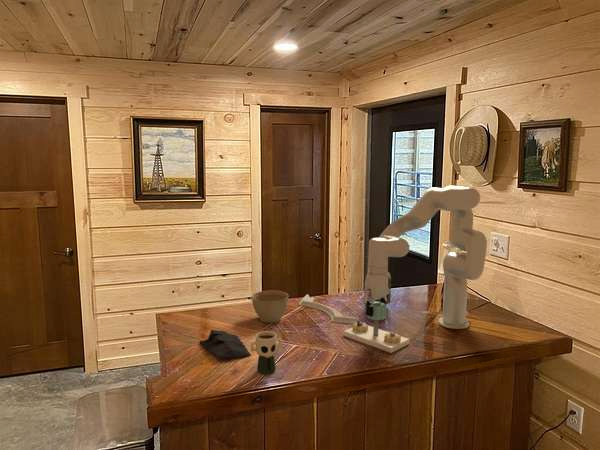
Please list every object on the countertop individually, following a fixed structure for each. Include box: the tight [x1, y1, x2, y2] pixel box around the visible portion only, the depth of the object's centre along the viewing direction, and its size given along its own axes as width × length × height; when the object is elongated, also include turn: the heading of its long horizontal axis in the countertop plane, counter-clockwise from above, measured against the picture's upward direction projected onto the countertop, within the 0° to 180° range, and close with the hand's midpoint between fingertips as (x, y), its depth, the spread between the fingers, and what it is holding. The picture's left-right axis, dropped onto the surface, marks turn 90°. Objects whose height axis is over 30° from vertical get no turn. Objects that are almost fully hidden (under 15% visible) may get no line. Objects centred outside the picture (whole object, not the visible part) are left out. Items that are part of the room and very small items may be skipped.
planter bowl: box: [251, 290, 289, 324], centre depth 209 cm, size 16×16×11 cm
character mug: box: [250, 330, 282, 375], centre depth 160 cm, size 11×7×13 cm, turn 112°
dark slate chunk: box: [199, 329, 252, 360], centre depth 179 cm, size 15×22×5 cm
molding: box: [298, 294, 360, 325], centre depth 221 cm, size 42×12×3 cm, turn 33°
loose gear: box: [366, 301, 387, 321], centre depth 186 cm, size 8×8×5 cm
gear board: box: [343, 320, 410, 354], centre depth 187 cm, size 12×23×8 cm, turn 45°
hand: (375, 313), depth 186 cm, fingers closed on loose gear, 7 cm apart
